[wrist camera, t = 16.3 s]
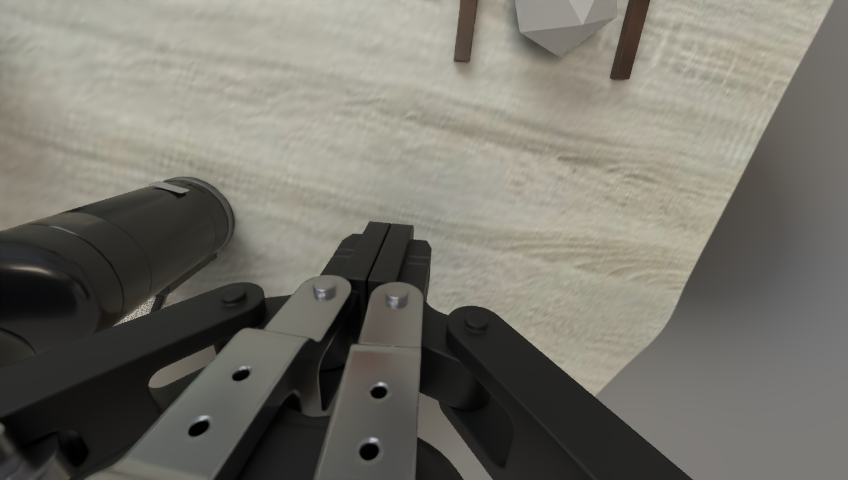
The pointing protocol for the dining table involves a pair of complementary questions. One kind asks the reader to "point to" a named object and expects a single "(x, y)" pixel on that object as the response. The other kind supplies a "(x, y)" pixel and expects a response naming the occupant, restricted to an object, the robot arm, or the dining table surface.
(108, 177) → the dining table surface
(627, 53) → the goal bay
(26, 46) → the dining table surface
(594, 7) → the die
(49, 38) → the dining table surface
